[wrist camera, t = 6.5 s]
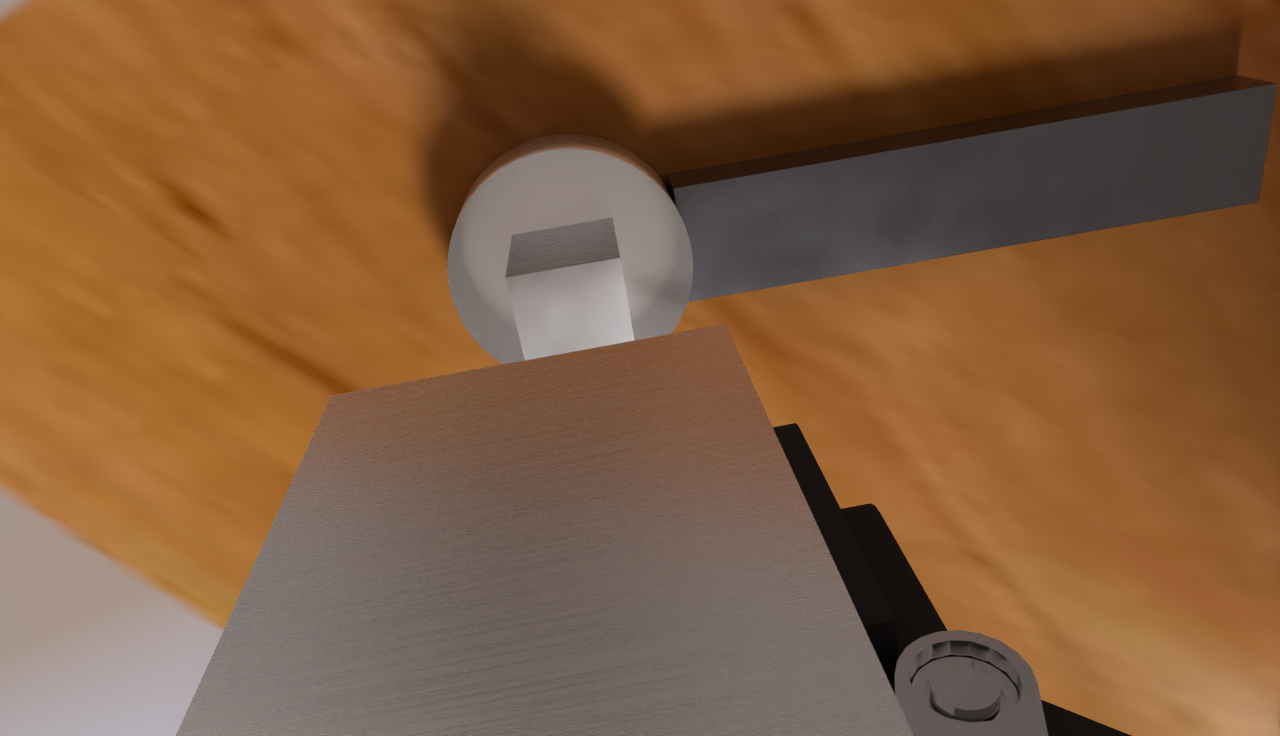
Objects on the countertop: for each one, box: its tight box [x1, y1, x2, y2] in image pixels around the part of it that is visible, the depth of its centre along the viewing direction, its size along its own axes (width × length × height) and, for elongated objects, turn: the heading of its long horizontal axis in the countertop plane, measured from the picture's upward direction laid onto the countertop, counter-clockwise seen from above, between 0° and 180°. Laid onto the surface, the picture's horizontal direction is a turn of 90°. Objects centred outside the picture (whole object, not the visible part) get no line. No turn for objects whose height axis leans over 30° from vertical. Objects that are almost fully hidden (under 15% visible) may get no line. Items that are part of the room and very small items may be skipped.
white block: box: [176, 324, 913, 736], centre depth 10 cm, size 5×5×7 cm
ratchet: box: [447, 76, 1277, 364], centre depth 23 cm, size 22×6×5 cm, turn 99°
